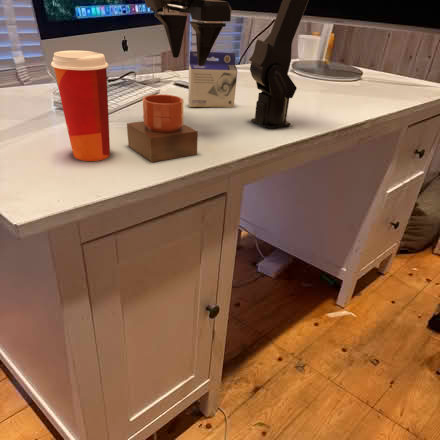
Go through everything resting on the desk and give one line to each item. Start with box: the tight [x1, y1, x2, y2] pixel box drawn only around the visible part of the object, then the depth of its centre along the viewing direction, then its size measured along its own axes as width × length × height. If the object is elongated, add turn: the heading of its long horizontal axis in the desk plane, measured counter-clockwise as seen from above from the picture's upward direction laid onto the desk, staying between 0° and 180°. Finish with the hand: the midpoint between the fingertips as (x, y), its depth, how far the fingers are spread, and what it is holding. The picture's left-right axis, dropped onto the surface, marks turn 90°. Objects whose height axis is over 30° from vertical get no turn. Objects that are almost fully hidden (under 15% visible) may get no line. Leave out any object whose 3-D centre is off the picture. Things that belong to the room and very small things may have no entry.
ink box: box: [187, 50, 238, 108], centre depth 98 cm, size 12×2×12 cm, turn 107°
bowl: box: [142, 93, 184, 132], centre depth 71 cm, size 7×7×4 cm
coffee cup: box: [50, 49, 111, 162], centre depth 66 cm, size 8×8×15 cm
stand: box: [126, 120, 199, 163], centre depth 73 cm, size 9×9×4 cm
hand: (187, 61), depth 80 cm, fingers open, 9 cm apart
